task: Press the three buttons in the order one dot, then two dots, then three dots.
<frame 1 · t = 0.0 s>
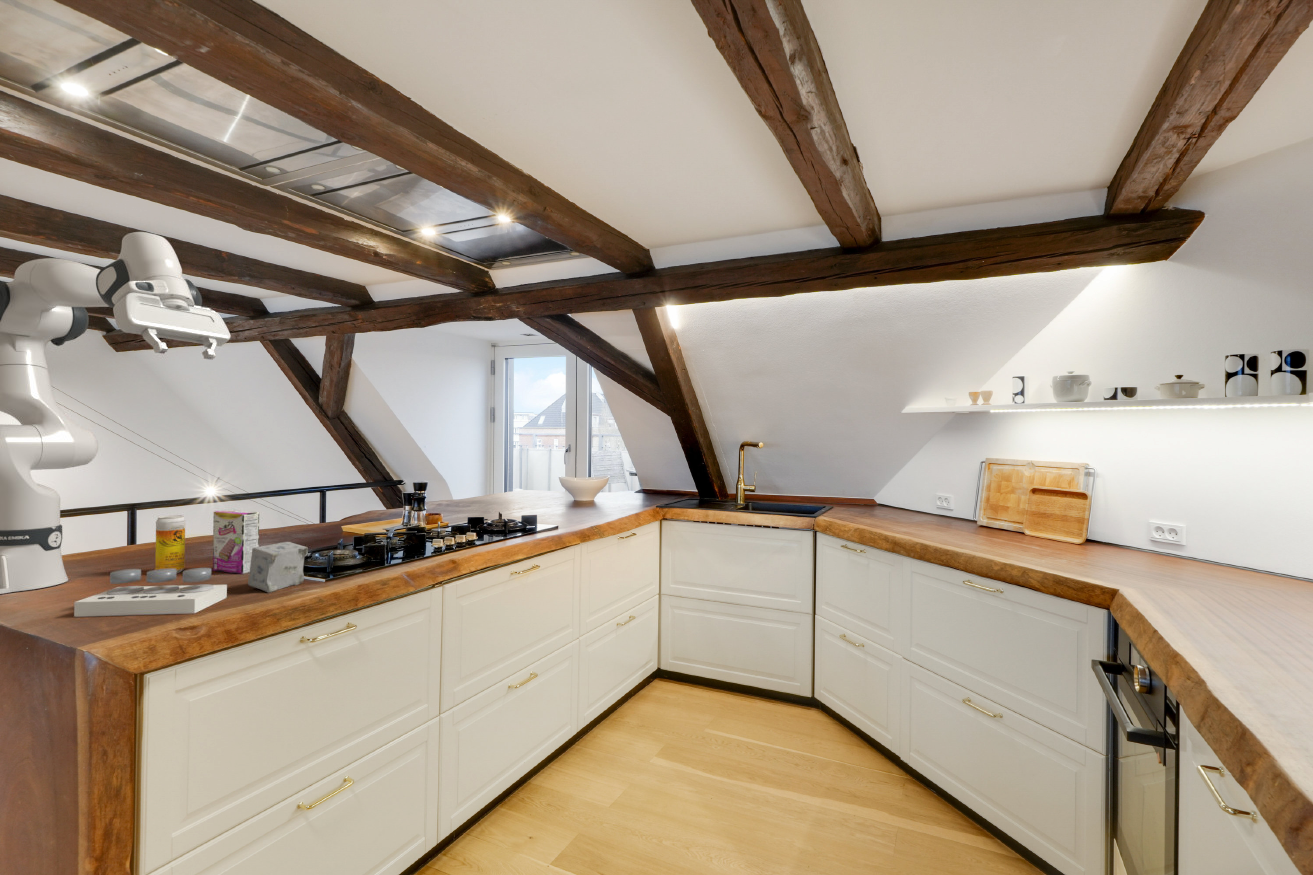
hand: (186, 355, 123), 54 cm above the counter, tool tilted 30°, fingers open, 8 cm apart
button three: (161, 575, 129), point 6 cm above the counter, slide at 0.0 cm
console: (155, 606, 127), on the counter
beer can: (170, 572, 158), on the counter
button two: (125, 576, 128), point 6 cm above the counter, slide at 0.0 cm
grey boxy piece: (278, 587, 145), on the counter
candy bar box: (235, 571, 160), on the counter
button one: (197, 574, 130), point 6 cm above the counter, slide at 0.0 cm
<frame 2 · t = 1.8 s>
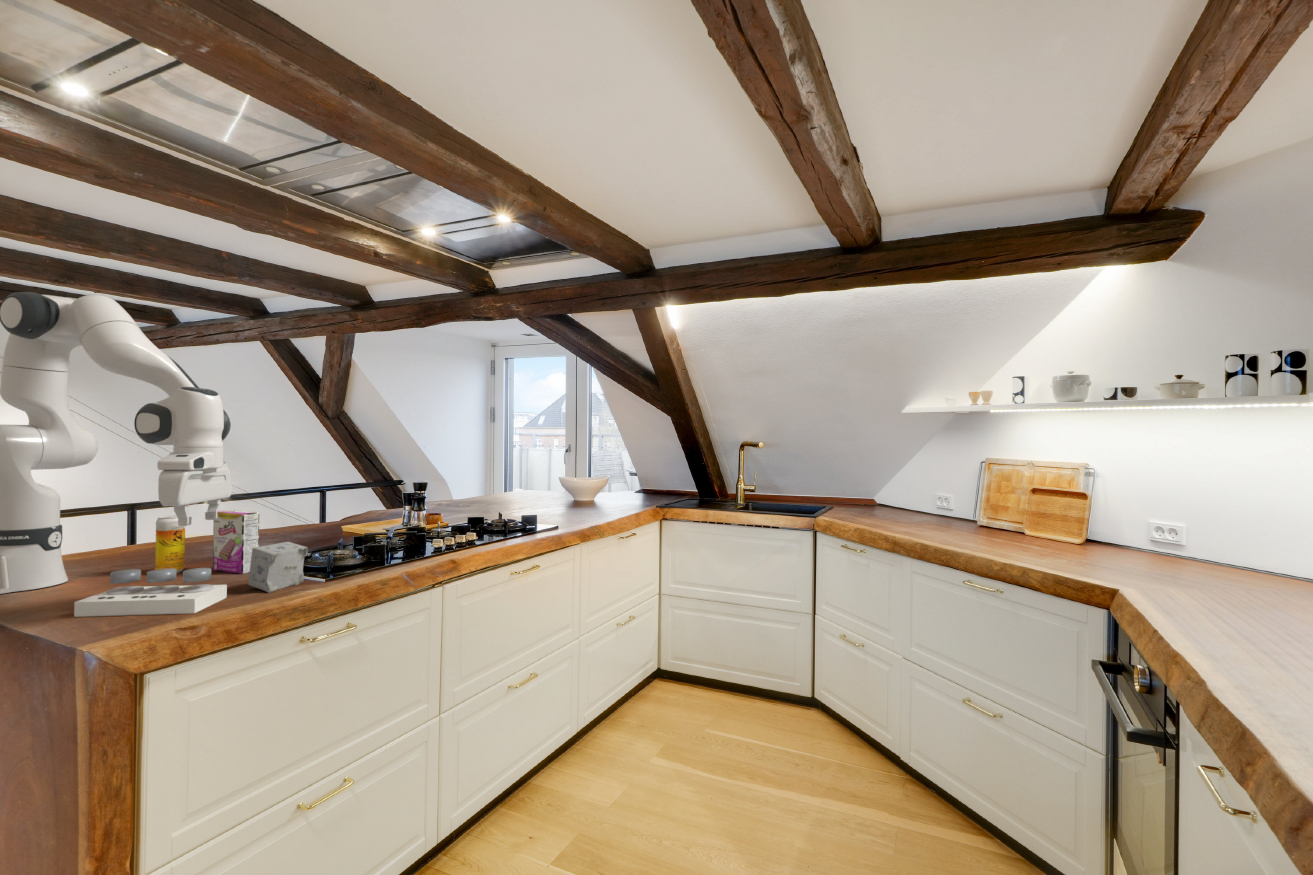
hand: (198, 522, 130), 18 cm above the counter, tool pointing down, fingers open, 8 cm apart
nothing on the counter moved.
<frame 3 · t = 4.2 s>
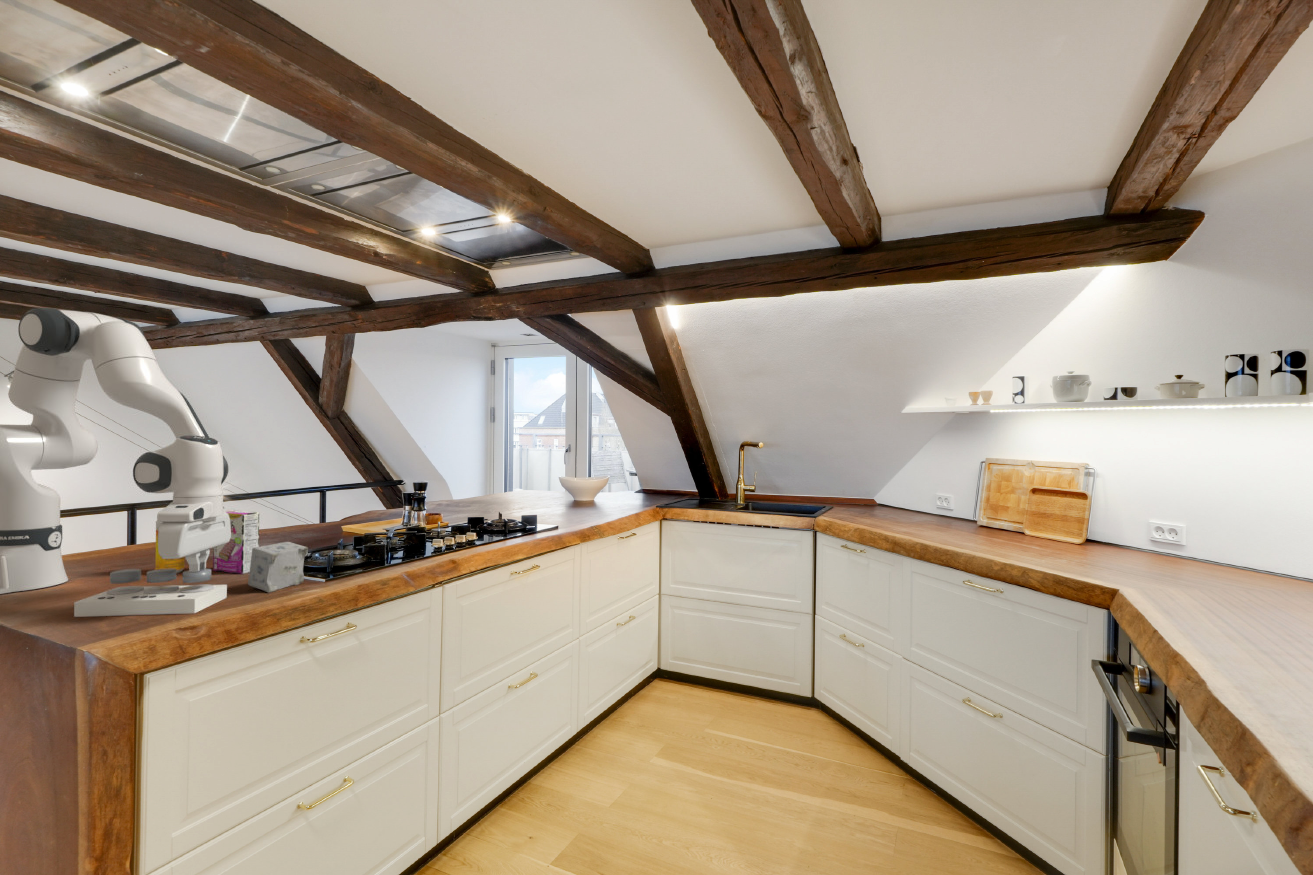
hand: (197, 570, 130), 7 cm above the counter, tool pointing down, fingers closed, pressing on button one
button one: (197, 575, 130), point 6 cm above the counter, slide at 0.2 cm, touching gripper
everything else where it was.
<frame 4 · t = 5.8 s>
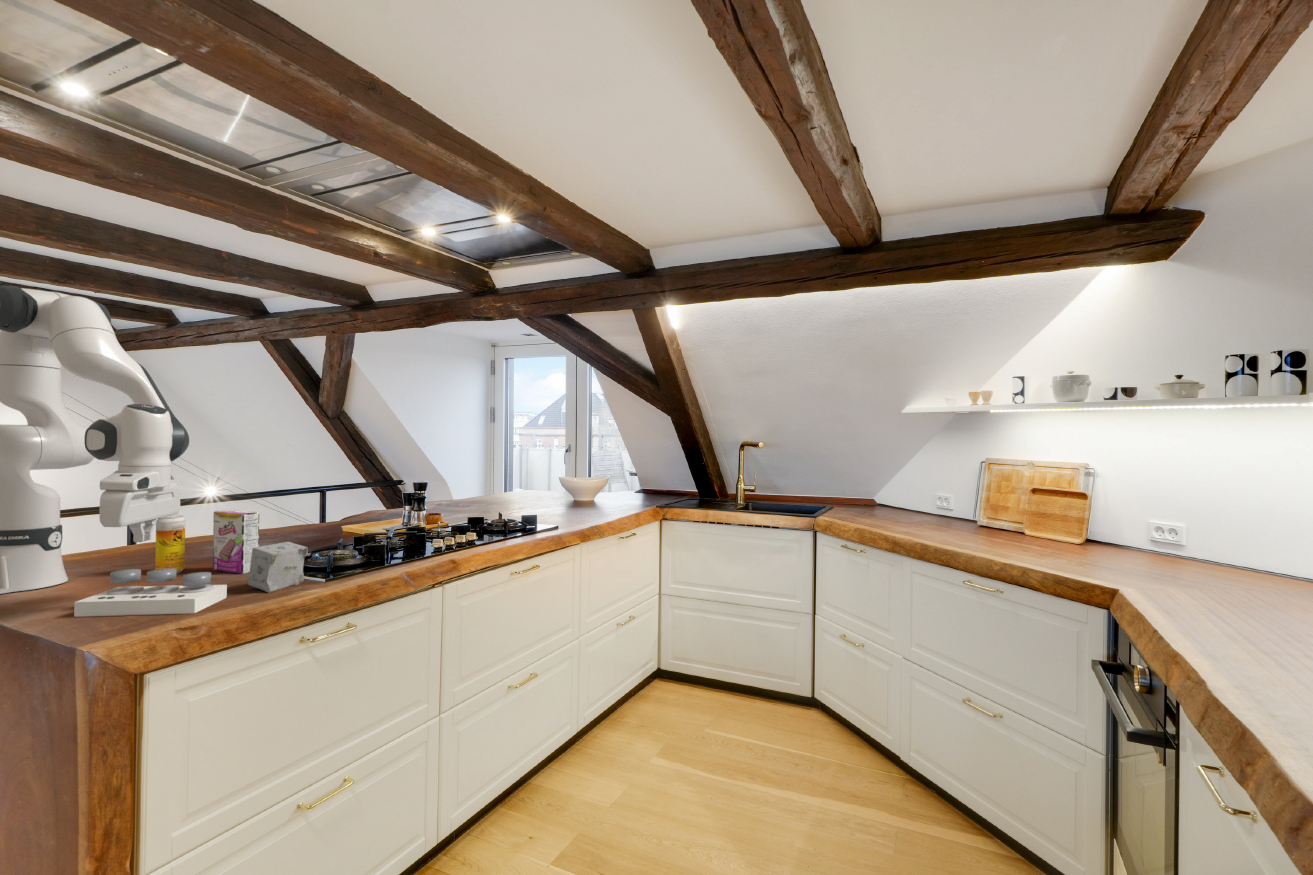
hand: (142, 541, 129), 14 cm above the counter, tool pointing down, fingers closed
button one: (197, 579, 130), point 5 cm above the counter, slide at 1.0 cm
everything else where it was.
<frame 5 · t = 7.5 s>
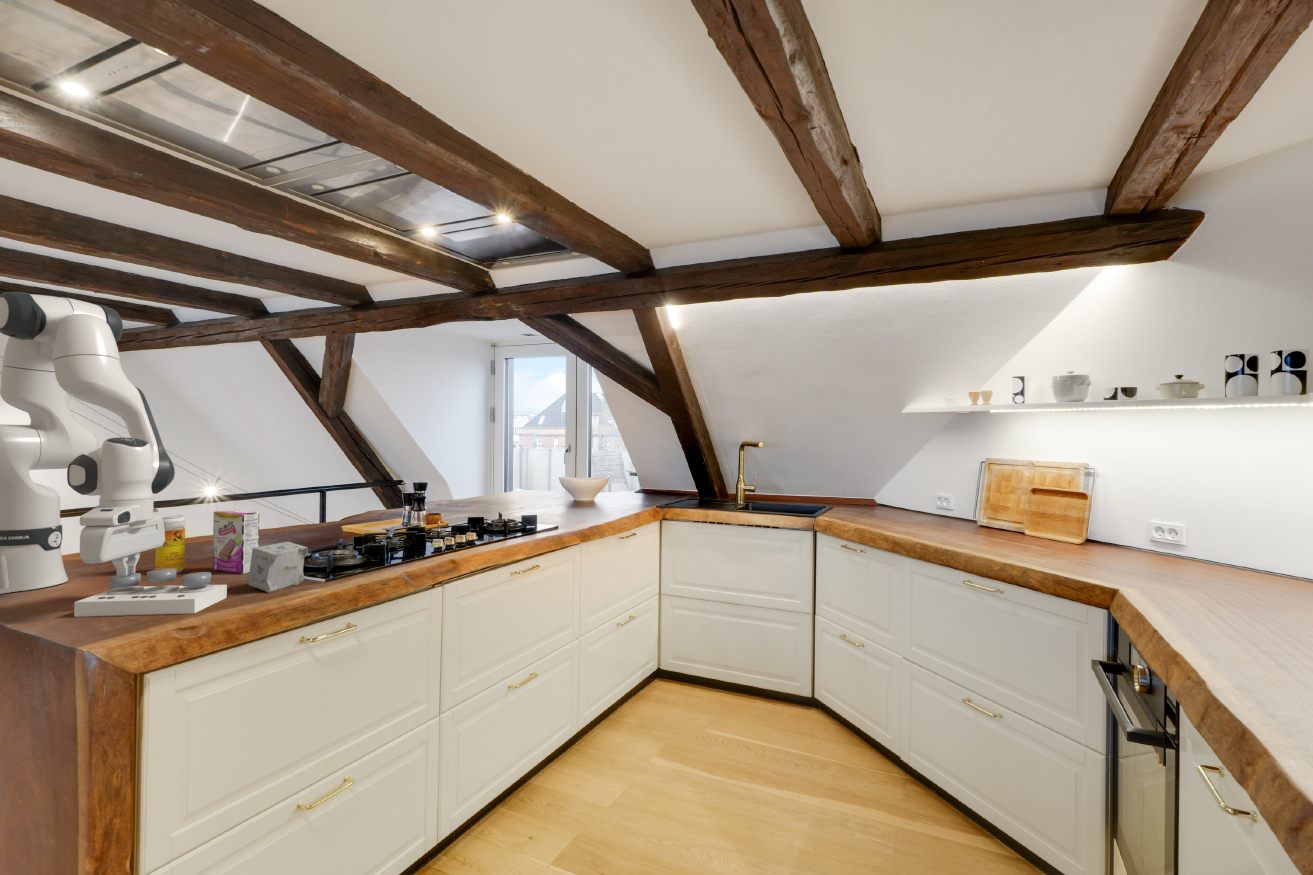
hand: (125, 575, 128), 6 cm above the counter, tool pointing down, fingers closed, pressing on button two
button two: (125, 580, 128), point 5 cm above the counter, slide at 0.9 cm, touching gripper
everything else where it was.
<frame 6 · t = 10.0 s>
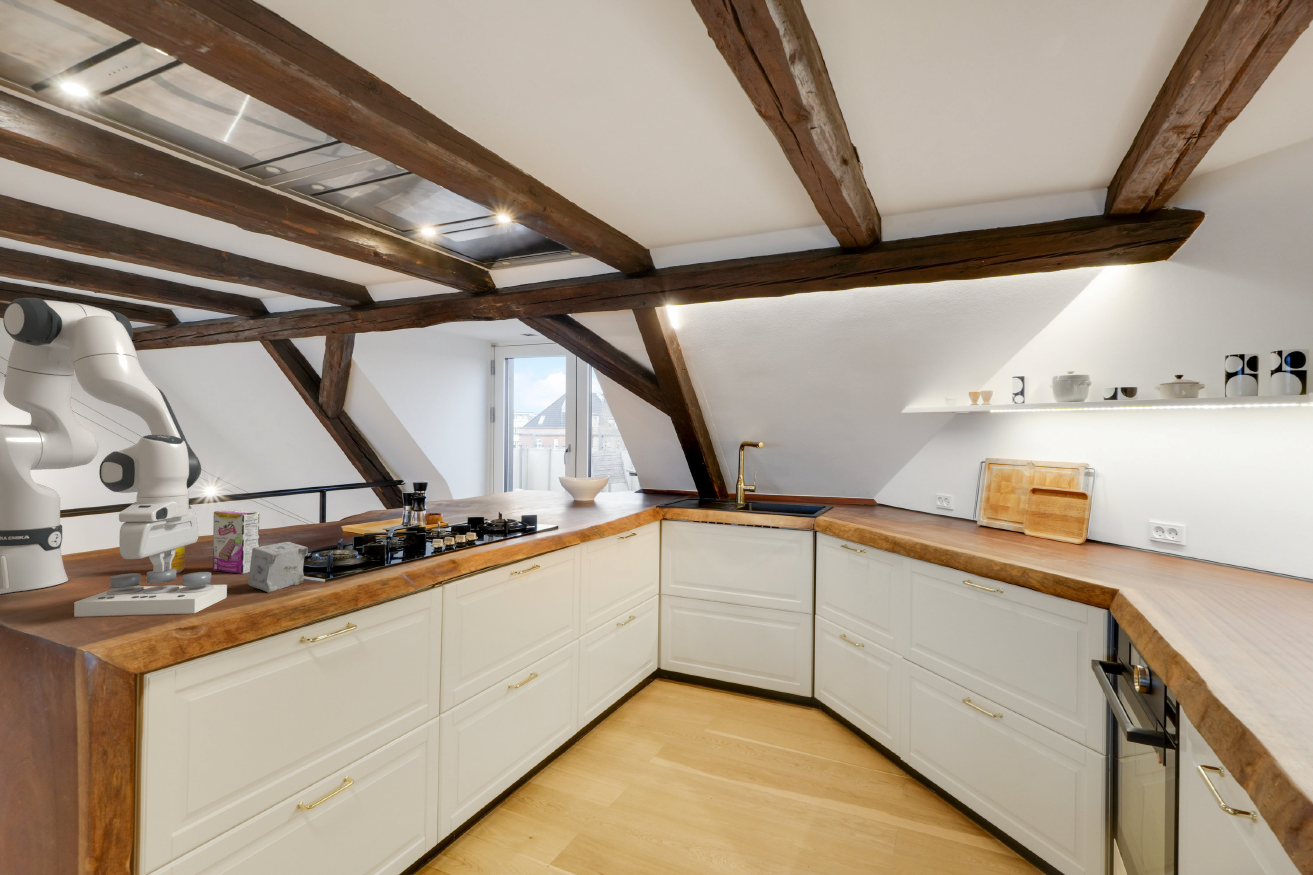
hand: (162, 571, 129), 7 cm above the counter, tool pointing down, fingers closed, pressing on button three
button three: (161, 575, 129), point 6 cm above the counter, slide at 0.1 cm, touching gripper
button two: (125, 580, 128), point 5 cm above the counter, slide at 1.0 cm
everything else where it was.
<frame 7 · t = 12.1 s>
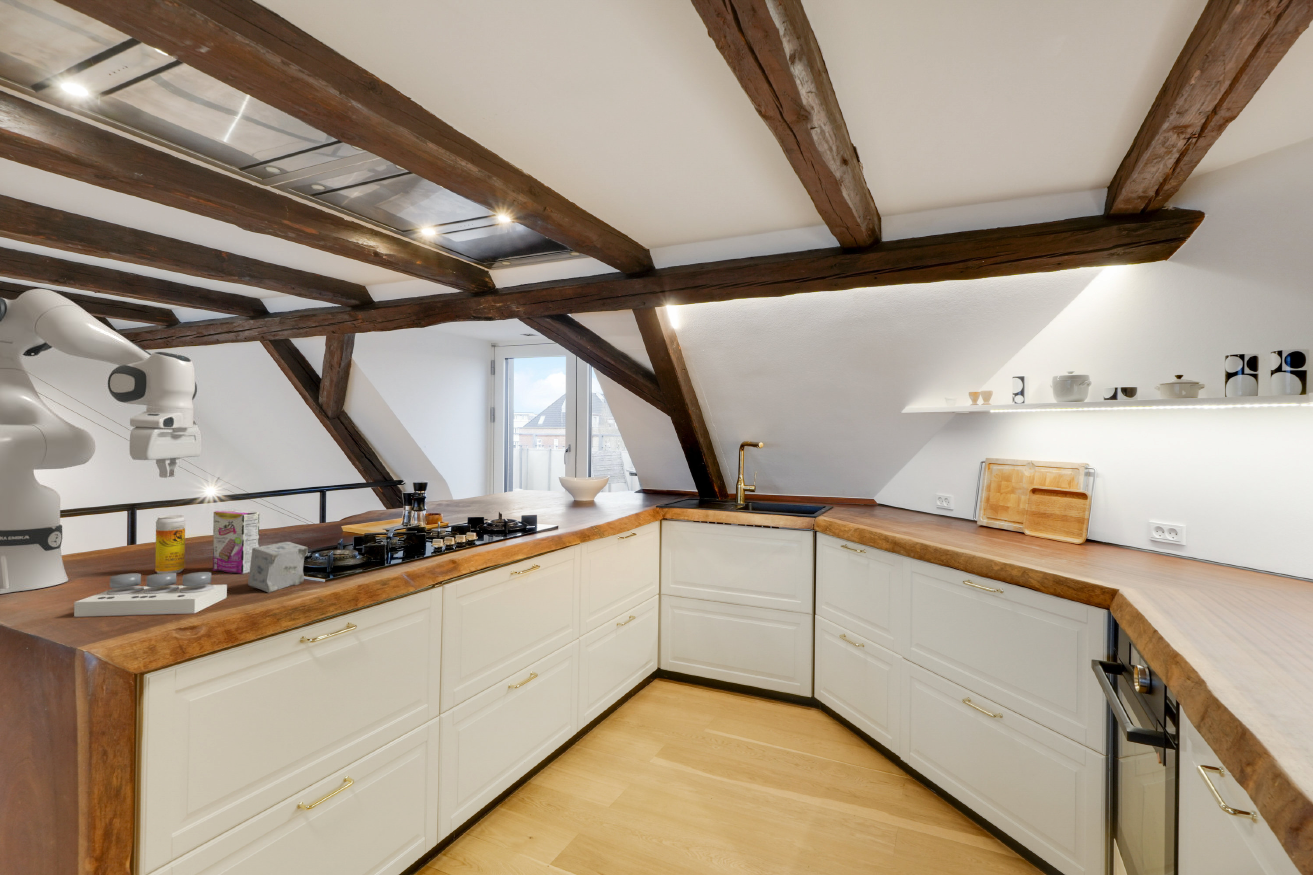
hand: (167, 477, 141), 27 cm above the counter, tool pointing down, fingers closed
button three: (161, 579, 129), point 5 cm above the counter, slide at 1.0 cm
everything else where it was.
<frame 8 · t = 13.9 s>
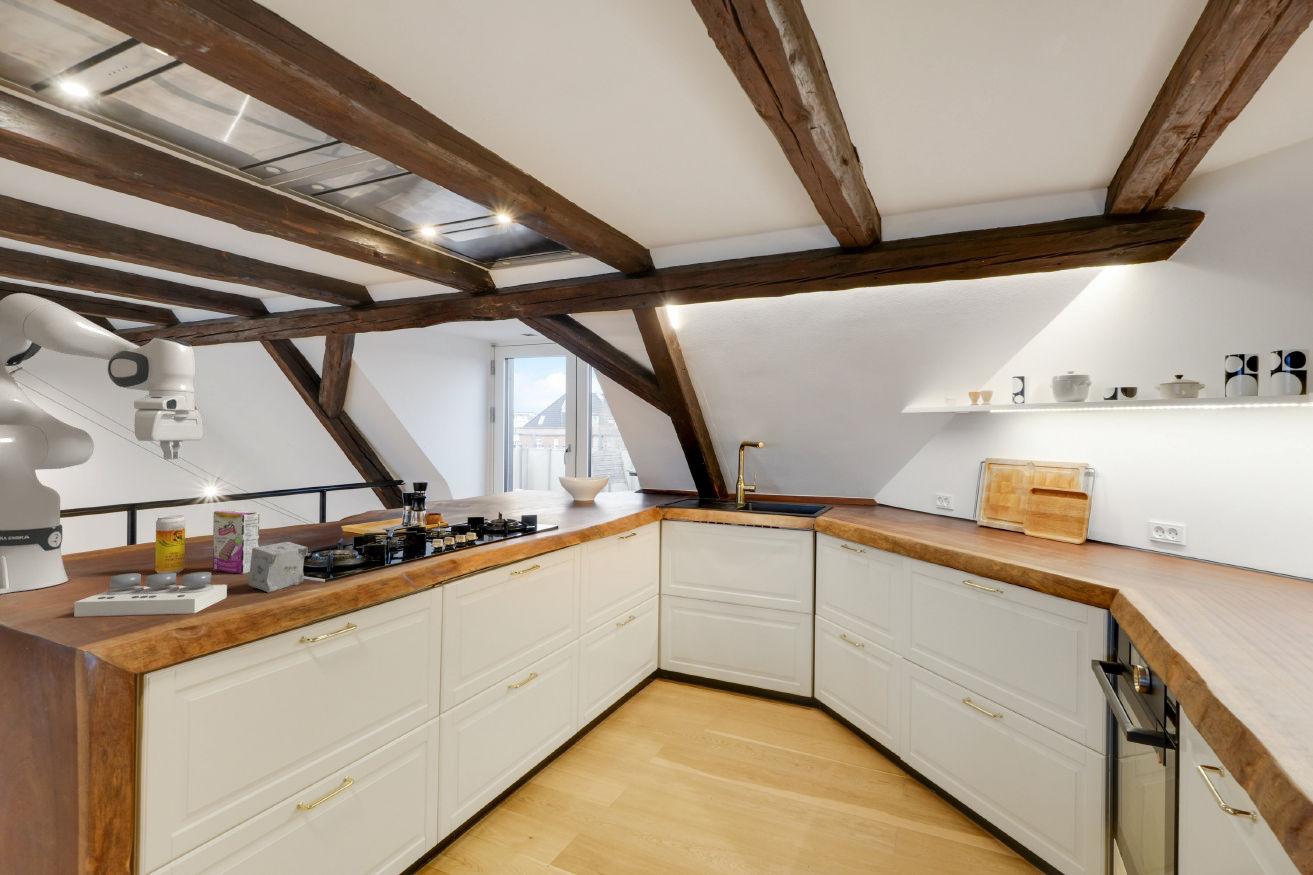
hand: (171, 459, 145), 31 cm above the counter, tool pointing down, fingers closed
nothing on the counter moved.
at the end: button one slide at 1.0 cm; button two slide at 1.0 cm; button three slide at 1.0 cm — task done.
